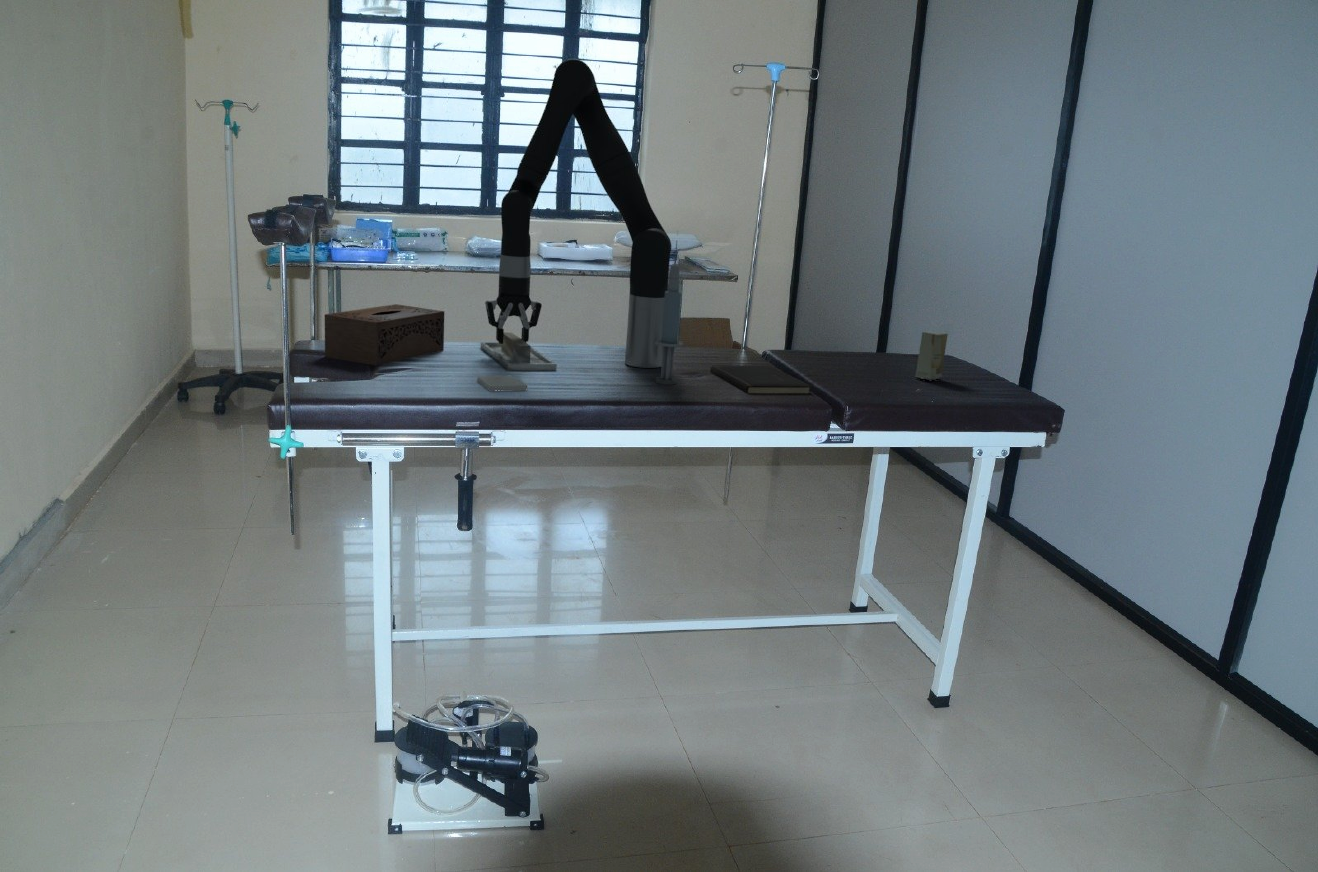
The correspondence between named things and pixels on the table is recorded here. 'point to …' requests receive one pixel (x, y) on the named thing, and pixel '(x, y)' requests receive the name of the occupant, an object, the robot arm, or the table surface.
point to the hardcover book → (759, 379)
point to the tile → (501, 383)
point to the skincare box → (931, 355)
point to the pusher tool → (516, 348)
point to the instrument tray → (510, 364)
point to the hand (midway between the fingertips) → (512, 343)
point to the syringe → (670, 325)
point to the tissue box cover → (383, 334)
